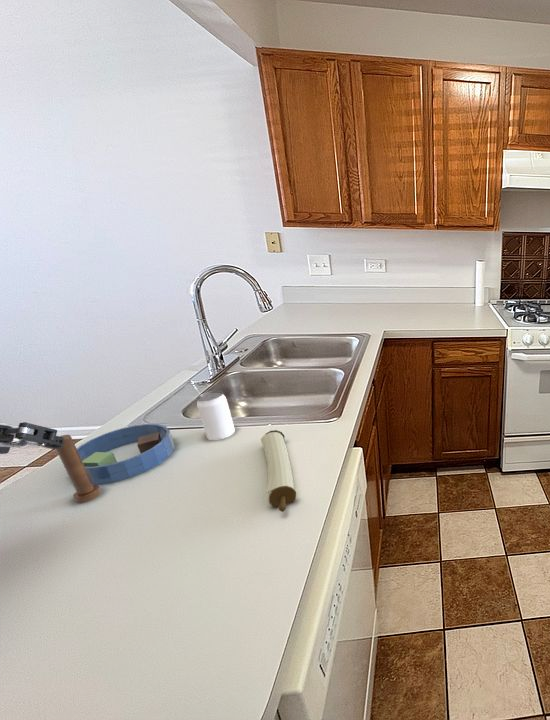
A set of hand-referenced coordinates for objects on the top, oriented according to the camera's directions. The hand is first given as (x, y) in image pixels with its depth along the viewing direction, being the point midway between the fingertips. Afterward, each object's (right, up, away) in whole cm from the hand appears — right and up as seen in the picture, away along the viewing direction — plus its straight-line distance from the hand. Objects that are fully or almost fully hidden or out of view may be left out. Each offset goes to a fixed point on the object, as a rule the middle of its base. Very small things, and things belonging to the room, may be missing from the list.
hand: (34, 446), depth 72 cm
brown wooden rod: (-1, -14, +11) cm, 17 cm away
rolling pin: (+36, -11, +18) cm, 42 cm away
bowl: (-3, -9, +23) cm, 25 cm away
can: (+13, -5, +33) cm, 36 cm away
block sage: (-5, -10, +18) cm, 21 cm away
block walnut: (+1, -7, +25) cm, 26 cm away
